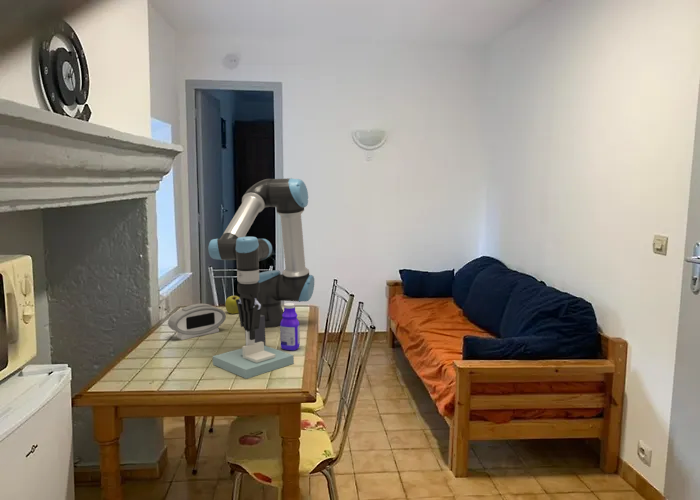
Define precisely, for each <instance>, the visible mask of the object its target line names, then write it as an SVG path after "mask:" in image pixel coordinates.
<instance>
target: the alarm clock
mask: <svg viewBox="0 0 700 500" xmlns="http://www.w3.org/2000/svg"><path fill="white" fill-rule="evenodd" d="M226 317H227V314H226V312H225V311H224V310H223V309H221V308H218V307H216V306H213V305H212V304H208V303H193V304H191V305H187V306H185V307H183V308H180V309H179V310H177V311H175V312H174V313H173V314H172V315H170V317H169V318H168V320H167V325H168V327H169V328H170V329H171V330H173V331H175V332H177V334H176V338H177V339H179V340H182V341H183V340H186V339H187V340H188V339H192V338H197V337H201V336H206V335H210V334H215V333H216V334H217V333H219V332H220V329H219V327H220V326H222V324H223V323H224V322H225V321H226Z"/></svg>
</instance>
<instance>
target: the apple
mask: <svg viewBox="0 0 700 500" xmlns="http://www.w3.org/2000/svg"><path fill="white" fill-rule="evenodd" d="M239 298H240V296H238V295H236V293H235V294H234V295H231V296H228V297H227V298H226V299H225V301H224V302H225V304H224V305H225V306H224V307H225V310H226V311H227V313H229V314H231V315H234V314H239V312H238V306H237V303H236V300H237V299H239Z"/></svg>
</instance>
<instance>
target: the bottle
mask: <svg viewBox="0 0 700 500" xmlns="http://www.w3.org/2000/svg"><path fill="white" fill-rule="evenodd" d="M283 308H284V309H283V312H284V313H283V314H282V317H283V318H282V321H281V323H280V325H279V327H280V332H279V333H280V339H279V340H280V348H281V349H282V350H286V351H296V350H298V349H299V347H300V345H301V344H300V341H301V340H300V339H301V338H300V336H301V334H300V331H301V330H300V327H301V326H300V320H299V319H298V314H297V312H296V303H293V302H286V303H284V304H283Z"/></svg>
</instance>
